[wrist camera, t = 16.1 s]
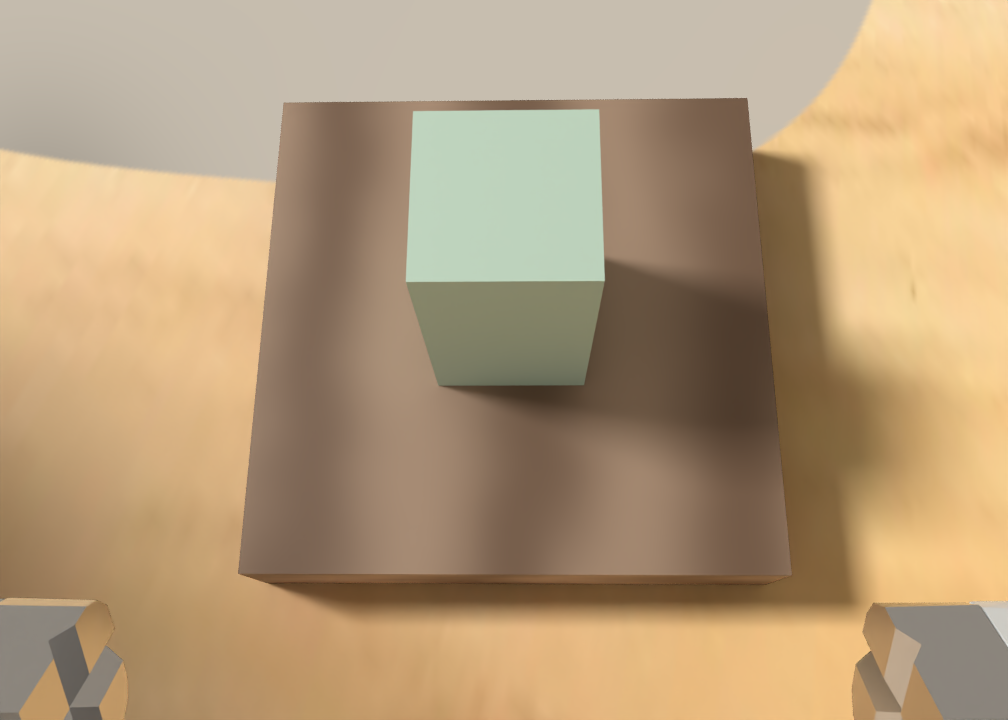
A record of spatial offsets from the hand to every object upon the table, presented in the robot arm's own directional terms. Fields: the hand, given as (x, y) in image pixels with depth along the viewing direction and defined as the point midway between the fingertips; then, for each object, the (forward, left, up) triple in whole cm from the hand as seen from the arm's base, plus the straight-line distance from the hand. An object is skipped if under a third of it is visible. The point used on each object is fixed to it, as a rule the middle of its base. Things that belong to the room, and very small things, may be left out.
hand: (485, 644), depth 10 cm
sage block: (0, +10, -17) cm, 20 cm away
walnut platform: (0, +10, -20) cm, 22 cm away
